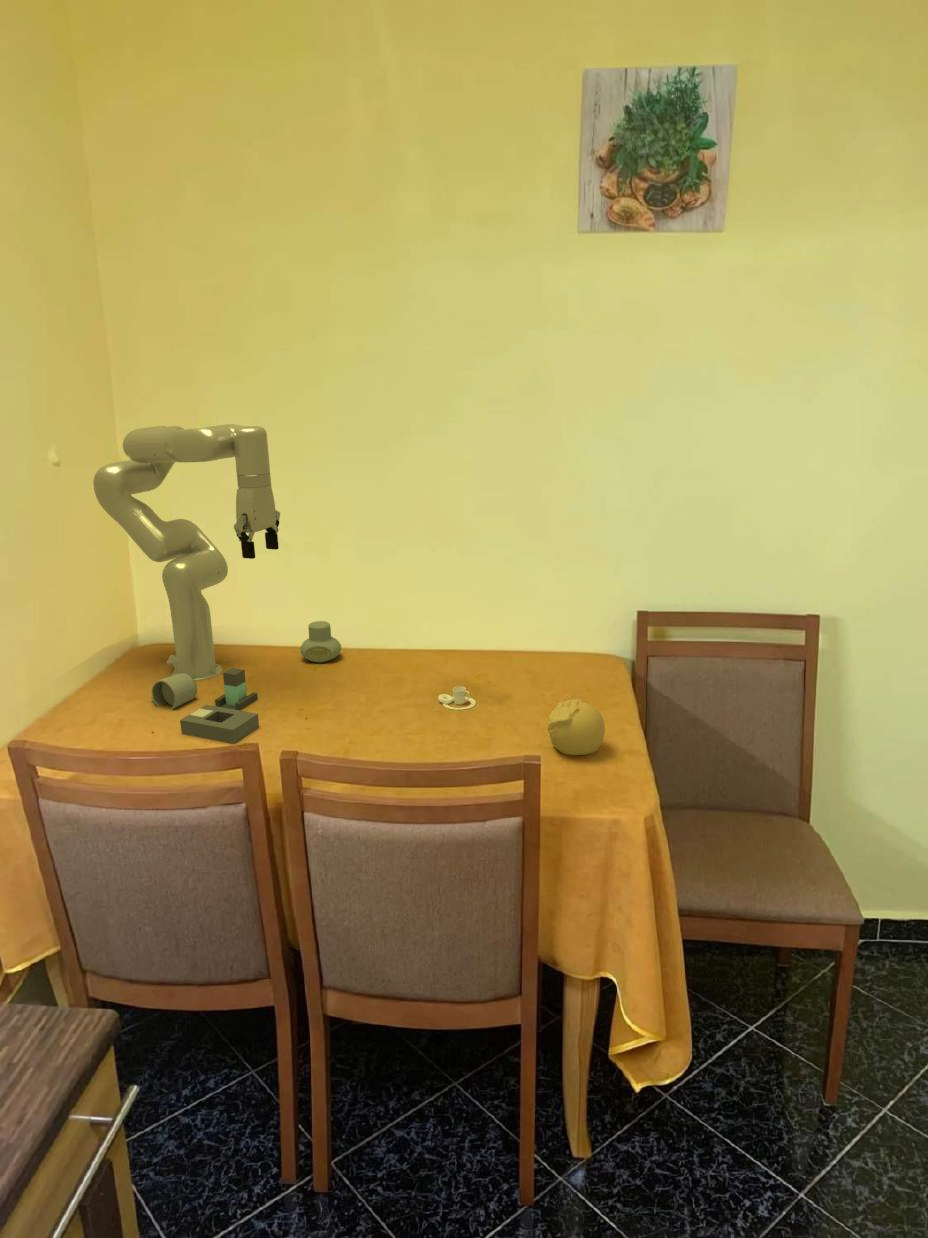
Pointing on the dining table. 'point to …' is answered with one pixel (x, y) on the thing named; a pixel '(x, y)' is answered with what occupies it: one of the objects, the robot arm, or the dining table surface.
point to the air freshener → (320, 643)
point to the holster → (240, 704)
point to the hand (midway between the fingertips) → (260, 553)
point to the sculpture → (576, 727)
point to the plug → (234, 685)
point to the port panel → (219, 723)
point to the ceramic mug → (174, 690)
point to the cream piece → (456, 698)
